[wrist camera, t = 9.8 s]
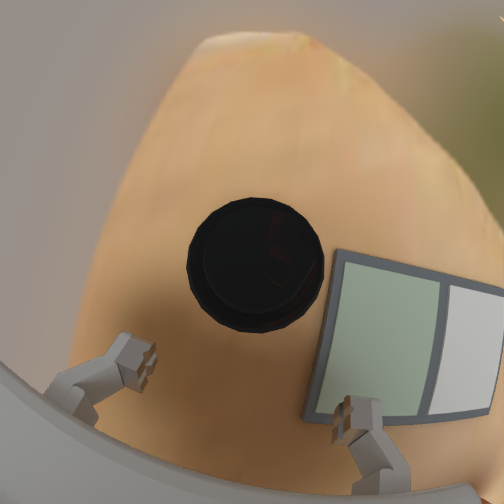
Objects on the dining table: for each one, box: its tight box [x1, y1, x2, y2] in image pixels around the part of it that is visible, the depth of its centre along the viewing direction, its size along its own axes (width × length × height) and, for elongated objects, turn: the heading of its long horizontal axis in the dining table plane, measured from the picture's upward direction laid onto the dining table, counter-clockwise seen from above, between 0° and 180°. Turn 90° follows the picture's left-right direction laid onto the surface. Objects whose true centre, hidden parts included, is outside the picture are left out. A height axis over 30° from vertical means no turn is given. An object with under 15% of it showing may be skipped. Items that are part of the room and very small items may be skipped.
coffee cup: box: [186, 197, 324, 333], centre depth 17 cm, size 7×7×10 cm
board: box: [301, 249, 504, 426], centre depth 20 cm, size 14×22×1 cm, turn 78°
